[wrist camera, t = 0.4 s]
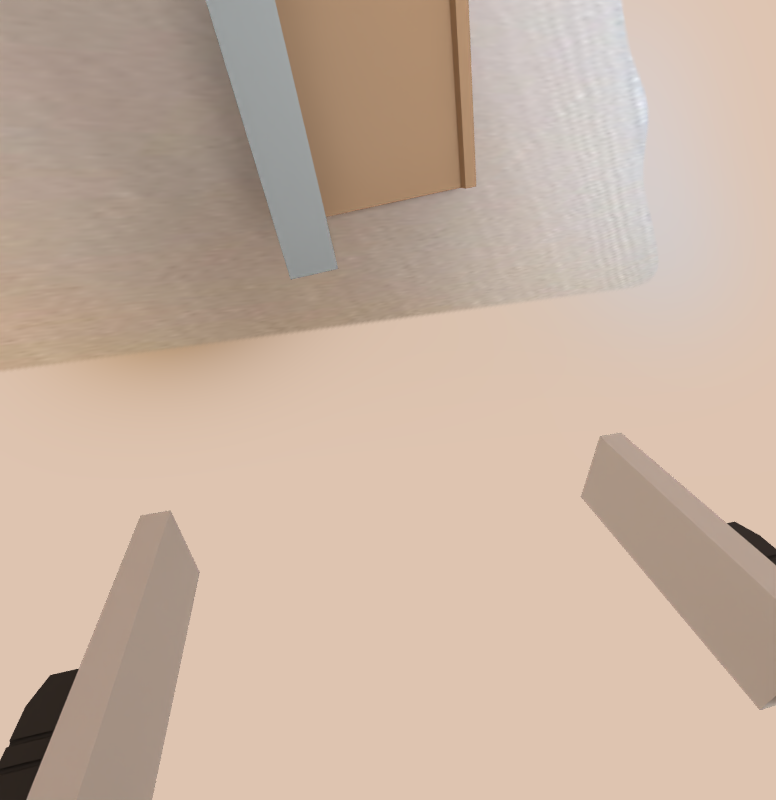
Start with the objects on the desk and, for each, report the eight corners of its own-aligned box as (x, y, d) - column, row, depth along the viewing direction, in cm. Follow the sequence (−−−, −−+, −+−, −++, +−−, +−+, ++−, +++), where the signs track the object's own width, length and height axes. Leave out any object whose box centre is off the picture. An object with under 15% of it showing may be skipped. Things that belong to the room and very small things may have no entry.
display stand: (219, -33, 24) (100, -347, 9) (440, -69, 25) (668, -401, 10) (290, 219, 31) (290, 279, 16) (457, 182, 33) (599, 208, 18)
